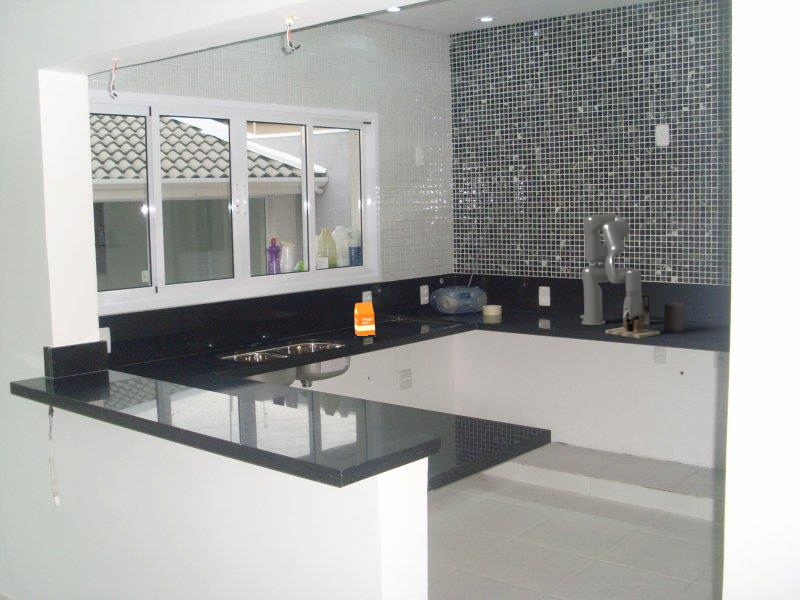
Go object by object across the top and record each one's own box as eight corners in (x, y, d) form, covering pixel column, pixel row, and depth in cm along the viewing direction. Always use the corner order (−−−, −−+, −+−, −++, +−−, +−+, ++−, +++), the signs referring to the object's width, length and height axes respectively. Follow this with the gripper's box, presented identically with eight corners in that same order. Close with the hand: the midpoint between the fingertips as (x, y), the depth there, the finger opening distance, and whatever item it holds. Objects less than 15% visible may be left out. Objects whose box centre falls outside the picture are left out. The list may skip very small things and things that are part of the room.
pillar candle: (660, 330, 442) (660, 301, 440) (672, 327, 448) (672, 299, 446) (676, 332, 434) (676, 303, 432) (688, 330, 440) (688, 300, 438)
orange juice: (375, 341, 450) (373, 302, 447) (359, 342, 447) (357, 304, 445) (371, 338, 457) (369, 301, 454) (355, 340, 455) (353, 302, 452)
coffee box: (647, 323, 466) (647, 293, 464) (649, 325, 460) (649, 294, 457) (630, 323, 467) (629, 293, 465) (632, 325, 461) (631, 295, 458)
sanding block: (623, 330, 438) (623, 318, 438) (630, 329, 441) (629, 317, 440) (637, 332, 431) (637, 320, 430) (644, 331, 434) (643, 319, 433)
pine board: (605, 333, 442) (605, 330, 442) (625, 329, 450) (625, 326, 450) (639, 338, 424) (639, 335, 423) (659, 334, 432) (659, 331, 432)
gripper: (639, 291, 441) (639, 327, 443) (615, 295, 432) (616, 331, 434) (651, 293, 435) (651, 328, 437) (627, 296, 426) (628, 333, 428)
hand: (633, 329), depth 436 cm, fingers closed on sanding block, 5 cm apart
